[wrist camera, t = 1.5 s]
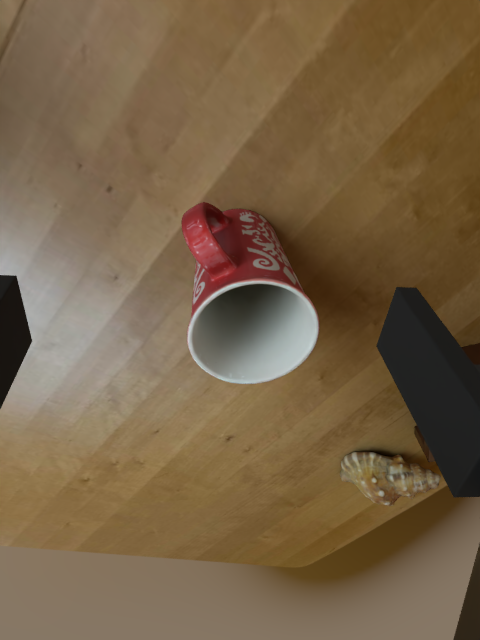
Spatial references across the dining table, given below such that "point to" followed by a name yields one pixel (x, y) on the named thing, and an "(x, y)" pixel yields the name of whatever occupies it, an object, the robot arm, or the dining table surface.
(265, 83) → the dining table surface
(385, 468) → the seashell
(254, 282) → the mug
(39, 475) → the dining table surface
